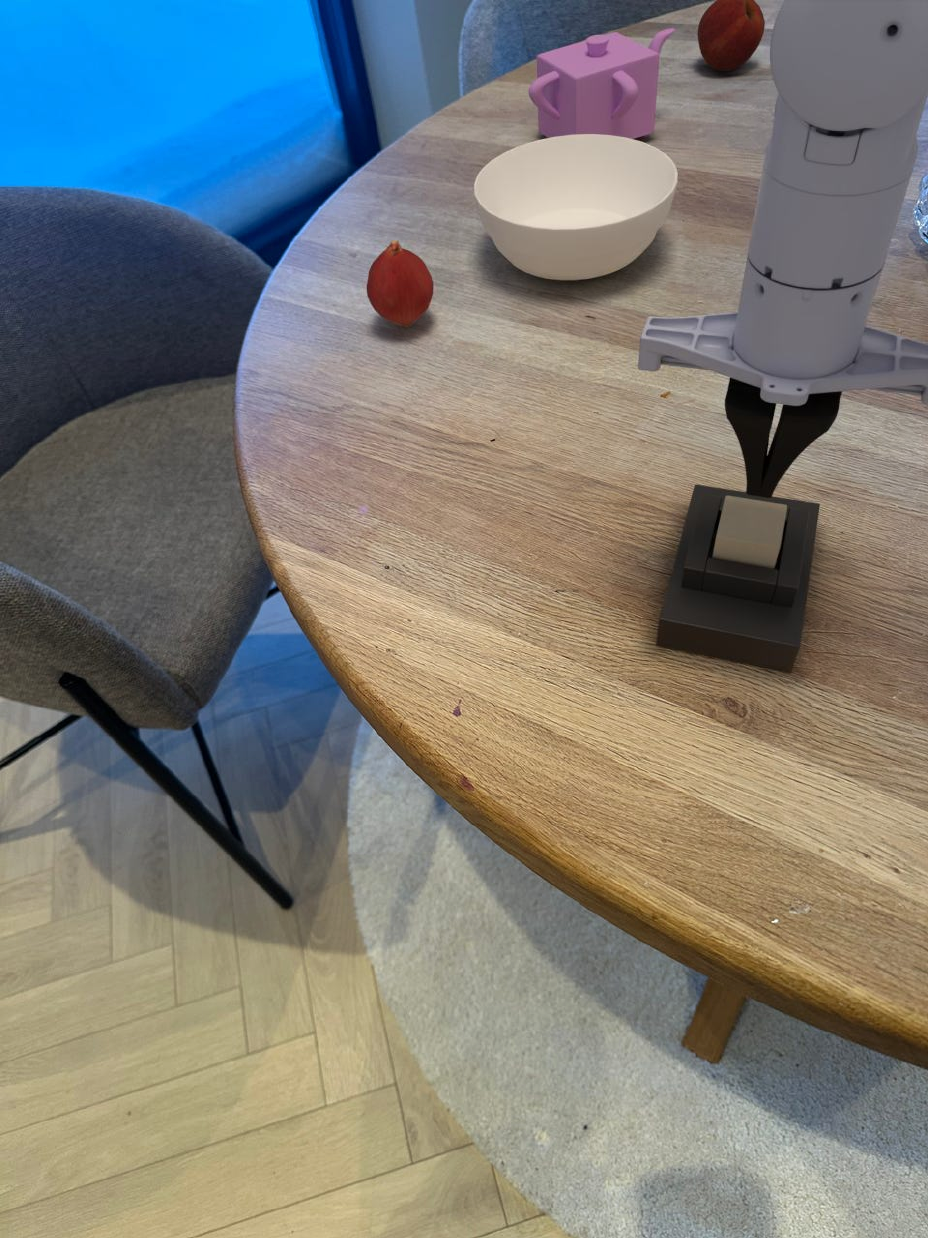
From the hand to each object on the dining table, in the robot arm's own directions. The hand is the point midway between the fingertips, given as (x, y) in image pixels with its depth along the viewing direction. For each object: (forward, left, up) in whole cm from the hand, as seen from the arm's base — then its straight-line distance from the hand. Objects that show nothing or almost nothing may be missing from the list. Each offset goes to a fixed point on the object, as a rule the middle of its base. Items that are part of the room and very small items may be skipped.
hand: (760, 484), depth 48 cm
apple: (-7, -85, -9) cm, 86 cm away
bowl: (+11, -42, -9) cm, 44 cm away
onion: (+26, -31, -9) cm, 41 cm away
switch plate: (0, 0, -9) cm, 9 cm away
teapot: (+8, -67, -9) cm, 68 cm away
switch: (0, 0, -5) cm, 5 cm away
